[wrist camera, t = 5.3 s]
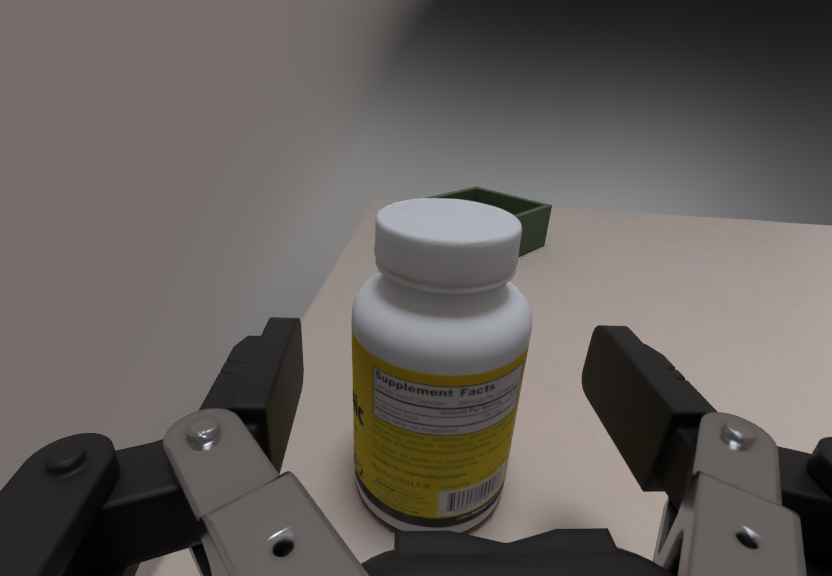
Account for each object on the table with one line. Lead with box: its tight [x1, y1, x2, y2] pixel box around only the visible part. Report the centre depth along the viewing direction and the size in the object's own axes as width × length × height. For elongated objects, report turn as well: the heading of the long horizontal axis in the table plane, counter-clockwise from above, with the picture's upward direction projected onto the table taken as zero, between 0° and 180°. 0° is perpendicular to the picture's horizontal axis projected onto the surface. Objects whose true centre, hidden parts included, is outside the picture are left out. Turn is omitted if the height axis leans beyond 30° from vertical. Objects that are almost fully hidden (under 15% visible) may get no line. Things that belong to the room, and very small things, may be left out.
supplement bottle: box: [352, 198, 532, 533], centre depth 15 cm, size 5×5×10 cm
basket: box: [428, 187, 552, 257], centre depth 39 cm, size 8×8×4 cm
